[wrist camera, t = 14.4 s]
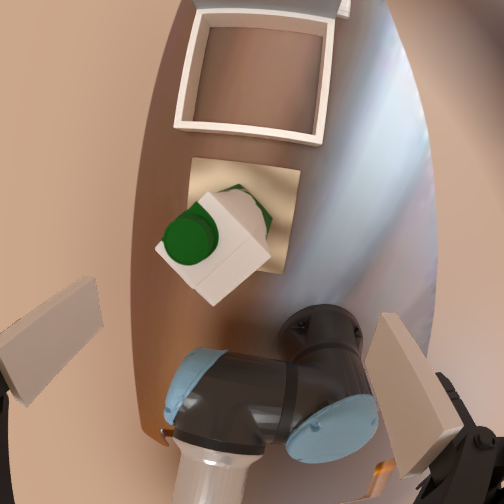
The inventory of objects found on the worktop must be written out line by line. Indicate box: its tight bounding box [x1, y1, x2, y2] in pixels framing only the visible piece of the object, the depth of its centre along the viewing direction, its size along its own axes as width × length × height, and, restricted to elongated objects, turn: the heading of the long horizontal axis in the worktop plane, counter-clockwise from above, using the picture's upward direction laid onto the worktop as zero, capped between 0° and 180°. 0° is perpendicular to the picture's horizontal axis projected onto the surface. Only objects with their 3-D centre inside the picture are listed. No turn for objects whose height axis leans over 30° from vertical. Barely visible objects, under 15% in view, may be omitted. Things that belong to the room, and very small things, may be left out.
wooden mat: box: [187, 157, 300, 274], centre depth 42 cm, size 16×16×1 cm
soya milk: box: [155, 184, 273, 306], centre depth 32 cm, size 9×9×20 cm
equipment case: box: [174, 0, 342, 147], centre depth 24 cm, size 27×20×21 cm
